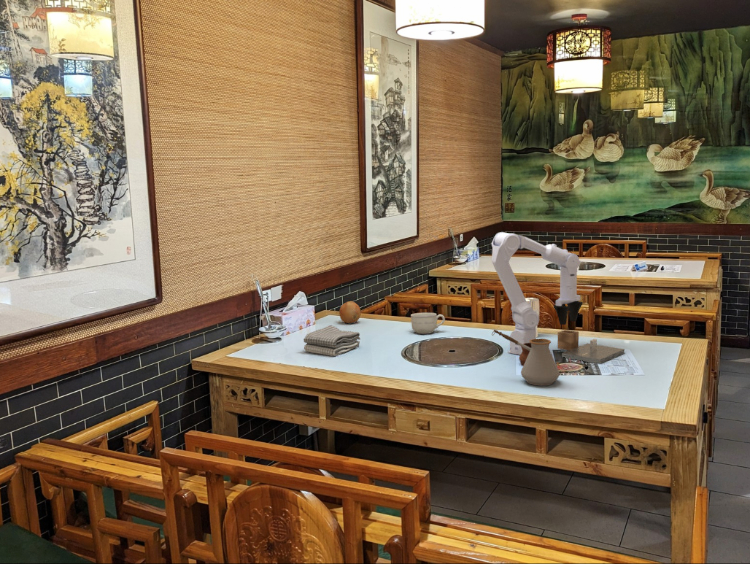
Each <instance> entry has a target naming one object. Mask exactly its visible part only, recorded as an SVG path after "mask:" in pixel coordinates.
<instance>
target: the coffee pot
mask: <svg viewBox="0 0 750 564" xmlns="http://www.w3.org/2000/svg"><path fill="white" fill-rule="evenodd" d="M495 334H498V335H499V336H501V337H502V338H504V339H506V340H507V341H509V342H510V341H511V342H513V343H516V344H518V345H520V346H522V347H523V348H525V349H527V350H529V351H530V352H529V354H528V357H527V359H526V361H525V364H524V366H522V369H521V371H520V375H521V377H522V378H523V380H525V381H526V382H527V383H528V384H530V385H534V386H541V387H542V386H549V385H553V383H555V382H556V381H557V380H558V378H559V377H560V371H559V368H558V365H557V362H556V361H555V360H554V357H553V355H552V352H551V350H550V344H552V341H551V340H550V339H547V338H536V339H532V340H530V341H529V342H530V343H531V346H532V348H530V347H528V346H526V345H524V344H522V343H520V342H518V341H516V340H515V339H513V338H511V337H510V335H508V334H505V333H502V331H499V330H497V329H493V331H492V333H491V336H494V335H495Z"/></svg>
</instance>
